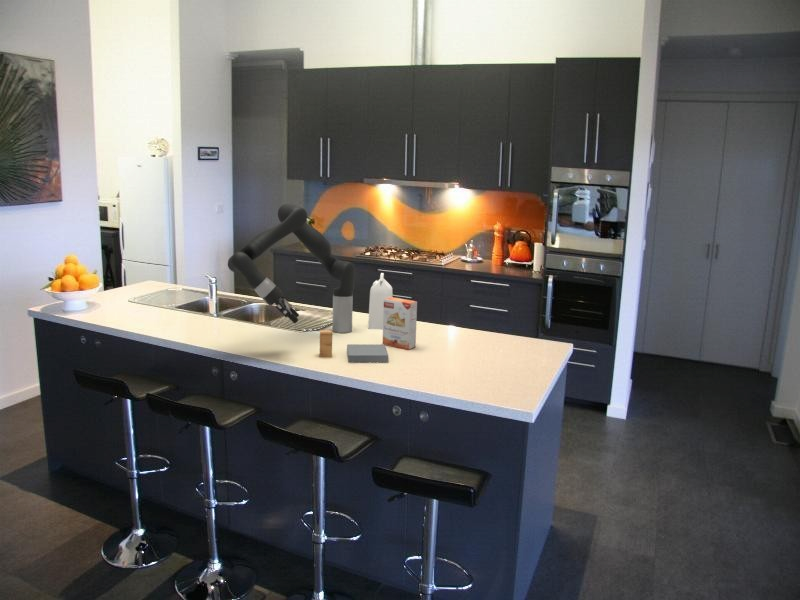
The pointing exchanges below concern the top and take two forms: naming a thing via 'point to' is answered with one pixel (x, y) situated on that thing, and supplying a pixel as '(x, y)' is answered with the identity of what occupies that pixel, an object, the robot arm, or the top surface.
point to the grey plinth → (367, 353)
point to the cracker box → (399, 323)
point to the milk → (378, 302)
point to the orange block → (325, 343)
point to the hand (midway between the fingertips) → (297, 319)
